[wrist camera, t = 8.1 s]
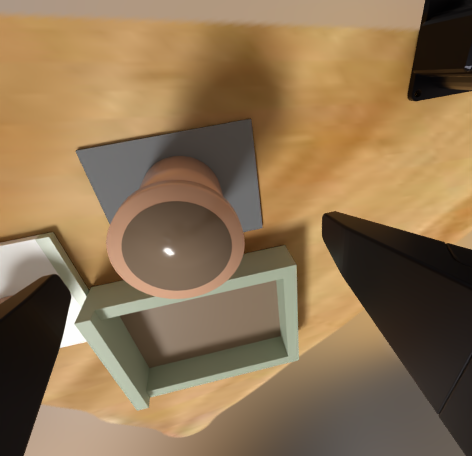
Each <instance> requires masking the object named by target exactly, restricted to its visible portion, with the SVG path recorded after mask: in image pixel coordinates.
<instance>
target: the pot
mask: <svg viewBox="0 0 472 456" xmlns="http://www.w3.org/2000/svg"><path fill="white" fill-rule="evenodd" d="M106 245H107V252H108V257H109V259H110V262H111V264H112V266H113V267H114V269H115V271H116V272H117V273H118V274H119V275H120V277H121V278H122V279H123V280H125V281H126V282H127V283H128V284H130V285H131V286H132V287H134V288H136V289H137V290H139V291H142V292H144V293H146V294H149V295H152V296H156V297H160V298H168V299H185V298H192V297H196V296H200V295H203V294H206V293H208V292H210V291H212V290H214V289H216V288H218V287H219V286H221V285H222V284H224V283H225V282H226V281H227V280H228V279H229V278H230V277H231V276H232V275H233V274H234V272H235V271H236V270H237V268H238V266H239V265H240V262H241V260H242V257H243V253H244V246H245V241H244V234H243V229H242V227H241V224H240V221H239V218H238V216H237V213H236V212H235V210H234V208H233V207H232V206H231V204H230V203H229V202H228V201H227V200H226V199H225V198H224V197H223V194H222V190H221V187H220V183H219V181H218V178H217V177H216V175H215V173H214V172H213V171H212V170H211V169H210V168H209V167H208V166H207V165H206V164H204V163H203V162H201V161H199V160H197V159H195V158H192V157H187V156H172V157H168V158H165V159H162V160H160V161H158V162H157V163H155V164H154V165H153V166H152V167H151V168H150V169H149V170H148V172H147V173H146V175H145V177H144V179H143V181H142V183H141V185H140V187H139V190H137V191H135V192H134V193H133V194H131V195H130V196H129V197H128V198H127V199H126V200H125V201H124V202H123V203H122V204H121V206H120V207H119V209H118V210H117V212H116V214H115V216H114V218H113V220H112V222H111V224H110V226H109V229H108V233H107V240H106Z"/></svg>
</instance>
